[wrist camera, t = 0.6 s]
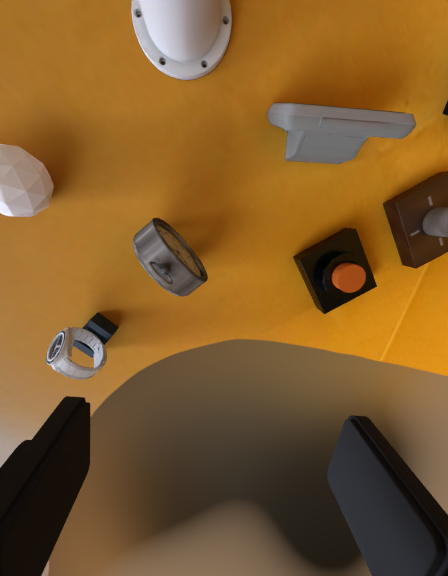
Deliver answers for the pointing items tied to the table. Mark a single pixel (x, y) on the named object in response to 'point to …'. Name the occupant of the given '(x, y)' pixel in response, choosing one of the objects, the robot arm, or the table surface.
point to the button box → (325, 259)
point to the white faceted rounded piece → (23, 183)
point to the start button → (348, 277)
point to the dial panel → (418, 220)
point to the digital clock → (334, 130)
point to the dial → (436, 222)
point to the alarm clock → (168, 258)
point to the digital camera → (446, 109)
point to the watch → (81, 347)
